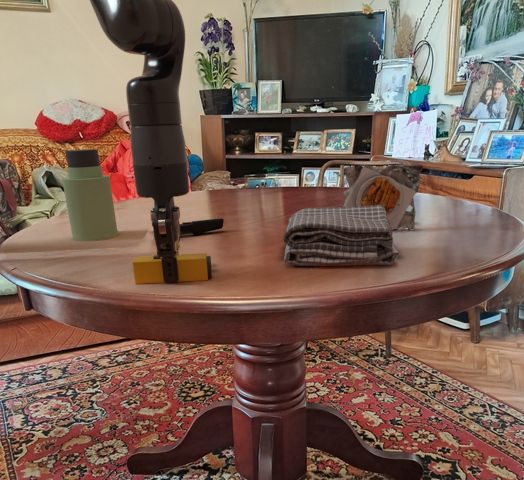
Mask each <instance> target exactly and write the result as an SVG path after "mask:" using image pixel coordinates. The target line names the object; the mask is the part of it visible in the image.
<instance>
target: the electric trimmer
mask: <svg viewBox="0 0 524 480" xmlns="http://www.w3.org/2000/svg"><path fill="white" fill-rule="evenodd" d="M224 223H225V219H224V218H221V217H220V218H212V219H211V218H210V219H201V220H191V221H187V222H184V221H183V222H181V223H180V236H185V235H195V236H197V235H201V234H204V233H205V234H206V233H209V232H213V231H218V230H221V229H223V227H224Z"/></svg>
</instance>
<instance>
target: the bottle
mask: <svg viewBox="0 0 524 480" xmlns="http://www.w3.org/2000/svg"><path fill="white" fill-rule="evenodd" d="M64 152H65V158H66V163H67V167H66V173H67V177H63V178H61V181H62V186H63V193H64V198H65V203H66V208H67V214H68V219H69V225H70V230H71V235H72V239H73V240H74V241H78V242H96V241H103V240H109V239H113V238H116V237H118V236H119V232H118V225H117V218H116V211H115V205H114V198H113V191H112V185H111V177H110V175H108V174H104V172H103V167H102V165H101V164H100V156H99V150H98V149H97V148H87V149H84V148H83V149H68V150H65V151H64Z"/></svg>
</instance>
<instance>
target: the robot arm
mask: <svg viewBox="0 0 524 480" xmlns="http://www.w3.org/2000/svg"><path fill="white" fill-rule="evenodd" d="M89 2H90V5H91V7H92V9H93V12H94V14H95V16H96V18H97V21H98V23H99V25H100V28H101V30H102V32H103V34H104V35H105V36H106V37H107V39H108V40H109V41H110V43H112V44H113V45H114V46H115V47H117V49H119V50H121V51H123V52H124V53H127V54H131V55H138V56H144V58H143V66H142V67H143V68H142V73H141V75H139V76H136V77H133V78H131V79H129V80H128V82H127V83H126V87H125V88H126V89H125V95H126V104H127V112H128V119H129V126H130V127H129V128H130V129H129V130H130V150H131V151H130V152H131V157H132V158H131V159H132V166H133V174H134V175H133V176H134V182H135V190H136V191H135V192H136V194H137V196H138V197H140V198H145V199H152V200H153V205H154V207H152V209H151V210H150V221H151V226H152V228H153V239H154V241H155V246H156V255H158V257H160V259H161V261H162V269H163V278H164V283H166V284H175V283H179V282H178V280H179V276H178V266H177V256H178V255H180V252H179V251H180V248H181V246H180V242H181V238H180V236H181V235H180V224H181V223H180V218H181V211H180V206H177V205H175V200H174V198H175V197H177V198H178V197H183V196H186V195H187V194H189V192H190V184H189V183H190V182H189V173H188V172H189V171H188V161H187V147H186V140H185V134H184V130H183V126H182V113H181V102H180V101H181V100H180V95H179V94H180V93H179V92H180V85H181V80H182V74H183V65H184V59H185V58H184V57H185V47H186V28H185V22H184V19H183V16H182V13H181V10H180V9H179V7H178V6H177V4H176V3H175V2H174V1H173V0H89Z"/></svg>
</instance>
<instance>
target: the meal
mask: <svg viewBox="0 0 524 480" xmlns="http://www.w3.org/2000/svg"><path fill="white" fill-rule="evenodd" d="M423 167H424V166H423V165H422V164H419V165H416V164H414V165H413V164H411V165H410V164H409V165H407V164H406V165H402V164H401V165H400V164H399V165H397V164H396V165H394V164H392V165H391V164H389V165H387V166H372V165H371V166H370V165H359V166H346V167H344V174H345V179H346V181H347V185H348V189H346V190H344V191H342V193H343V195H344V198H345V201H344V202H343V203H342V206H341V207H362V206H365V207H366V206H376V205H383V206H384V208H385V210H386V214H387V218H388V220H389V222H390V227H391V230H393V229H398V230H400V228H403V229H404V228H408V229H414V230H415V229H416V222H415V221H416V207H415V201H414V199H415V198H414V197H415V195H416V194H417V193H419V189H420V181H421V180H420V177H421V176H420V175H421V173H422V171H423ZM409 206H410V207H412V209H410V211H408V209H409Z"/></svg>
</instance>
